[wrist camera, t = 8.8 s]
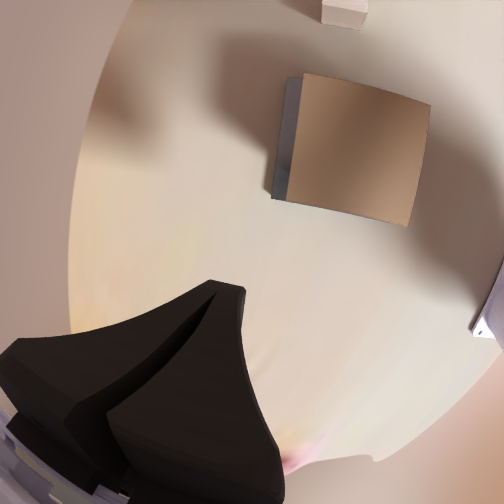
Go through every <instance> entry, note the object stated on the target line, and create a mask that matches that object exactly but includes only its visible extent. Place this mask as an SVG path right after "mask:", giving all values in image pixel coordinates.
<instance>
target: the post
mask: <svg viewBox="0 0 504 504" xmlns="http://www.w3.org/2000/svg"><path fill="white" fill-rule="evenodd" d="M302 85H303V79H301V78H293V77H287V83H286V91H285V98H284V106H283V114H282V121H281V129H280V136H279V143H278V151H277V158H276V165H275V172H274V180H273V187H272V194H271V199H276V200H282V201H287V200H286V196H287V190H288V183H289V177H290V170H291V164H292V157H293V150H294V143H295V136H296V129H297V122H298V115H299V107H300V100H301V92H302ZM287 202H292V201H287ZM293 203H297V202H293ZM298 204H303V203H298ZM304 205H308V204H304ZM309 206H313V205H309ZM314 207H318V206H314ZM319 208H323V207H319ZM324 209H328V208H324ZM329 210H333V209H329ZM334 211H337V210H334ZM339 212H342V211H339ZM343 213H347V212H343ZM348 214H351V213H348ZM353 215H356V214H353ZM357 216H360V215H357ZM362 217H365V216H362ZM366 218H369V217H366ZM370 219H373V218H370ZM375 220H378V219H375ZM379 221H382V220H379ZM383 222H386V221H383ZM387 223H390V222H387Z"/></svg>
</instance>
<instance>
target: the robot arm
mask: <svg viewBox="0 0 504 504" xmlns="http://www.w3.org/2000/svg"><path fill="white" fill-rule="evenodd" d="M245 296H246V290H245V288H244V287H241V286H237V285H232V284H228V283H224V282H219V281H215V280H211V279H210V280H208V281H206V282H204V283H202V284H200V285H199V286H197V287H195V288H193V289H192V290H190V291H188V292H186V293H184V294H183V295H181V296H179V297H177V298H175V299H173V300H172V301H170V302H168V303H165V304H163V305H161V306H159V307H157V308H155V309H153V310H151V311H149V312H147V313H144V314H142V315H139V316H137V317H134V318H132V319H129V320H126V321H123V322H120V323H117V324H114V325H110V326H107V327H103V328H99V329H95V330H91V331H87V332H82V333H76V334H71V335H63V336H55V337H43V338H42V337H41V338H18V339H17V340H16V341H14V342H13V343H12V344H11V345H10V346H9V347H8V348H7V349H6V350H5V351H4V352H3V353H2V354H1V355H0V386H1V388H2V389H3V391H4V392H5V394H6V395H7V397H8V398H9V399H10V401H11V402H12V403H13V405H14V406H15V408H16V409H17V410H18V412H17V413H16V414H15V416H14V417H13V418H11V417H10V416H9V415H8V414H7V413H6V412H5V411H4V410H3V409H2V408H1V407H0V504H63V503H62V502H60V501H59V500H57V499H56V498H54V497H53V496H52V495H50V494H49V493H50V491H51V490H52V488H53V487H54V486H53V484H52V483H51V482H50V481H48V480H47V479H46V478H45V477H43V476H42V475H41V474H40V473H39V472H37V471H36V470H35V469H34V468H33V467H31V466H30V465H29V464H28V463H27V462H26V461H24V460H23V459H22V458H21V457H20V456H19V455H18V454H17V453H16V451H15V444H16V445H17V446H18V447H19V448H21V450H22V451H23V452H25V453H26V454H27V455H28V456H29V457H30V458H31V459H32V460H34V461H35V462H36V463H37V464H38V465H40V466H41V467H42V468H43V469H44V470H46V471H47V472H48V473H50V474H51V475H52V476H53V477H55V478H56V479H58V480H59V481H60V482H62V483H63V484H64V485H66V486H67V487H69V488H70V489H72V490H73V491H74V492H76V493H78V494H79V495H81V496H82V497H84V498H85V499H87V500H88V501H90V502H92V503H93V504H282V503H283V501H284V497H285V482H284V474H283V467H282V462H281V457H280V452H279V448H278V446H277V444H276V442H275V440H274V438H273V436H272V434H271V432H270V430H269V428H268V426H267V424H266V422H265V420H264V417H263V415H262V412H261V410H260V408H259V405H258V402H257V399H256V396H255V393H254V390H253V387H252V384H251V381H250V378H249V374H248V370H247V366H246V362H245V357H244V351H243V345H242V336H241V326H242V319H243V311H244V304H245ZM471 333H472V335H473V336H477V337H488V338H496V340H497V342H498V343H499V345H500V346H501V348H502V350H503V351H504V261H503V264H502V267H501V269H500V272H499V274H498V277H497V279H496V282H495V284H494V286H493V288H492V291H491V293H490V295H489V297H488V299H487V302H486V304H485V306H484V308H483V310H482V312H481V314H480V316H479V318H478V320H477V321H476V323H475V325H474V327H473V329H472V331H471ZM14 443H15V444H14ZM119 493H121V494H123V495H125V496H127V497H130V499H129V500H128V499H126V498H124V497H122V496H120V495H118V494H119Z"/></svg>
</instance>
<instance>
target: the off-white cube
mask: <svg viewBox="0 0 504 504" xmlns="http://www.w3.org/2000/svg"><path fill="white" fill-rule="evenodd" d="M367 12H368V0H322V20H321V23H322V24H328V25H334V26H339V27H344V28H349V29H354V30H358V31H360V30H361V28H362V25H363V23H364V21H365V18H366V16H367Z"/></svg>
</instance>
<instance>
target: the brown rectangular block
mask: <svg viewBox="0 0 504 504" xmlns="http://www.w3.org/2000/svg"><path fill="white" fill-rule="evenodd" d="M429 116H430V105H428V104H425V103H422V102H419V101H417V100H414V99H411V98H408V97H405V96H402V95H399V94H395V93H392V92H389V91H385V90H382V89H378V88H374V87H371V86H367V85H363V84H359V83H354V82H350V81H345V80H341V79H336V78H331V77H325V76H319V75H313V74H307V73H304V77H303V85H302V92H301V100H300V107H299V115H298V122H297V129H296V136H295V143H294V150H293V157H292V164H291V170H290V177H289V183H288V190H287V196H286V200H287V201H292V202H297V203H303V204H308V205H313V206H318V207H323V208H328V209H333V210H337V211H342V212H347V213H351V214H356V215H360V216H365V217H369V218H373V219H378V220H382V221H386V222H390V223H394V224H398V225H402V226H406V227H408V223H409V219H410V216H411V212H412V208H413V204H414V200H415V196H416V191H417V187H418V182H419V178H420V173H421V168H422V162H423V157H424V151H425V145H426V139H427V132H428V124H429Z"/></svg>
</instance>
